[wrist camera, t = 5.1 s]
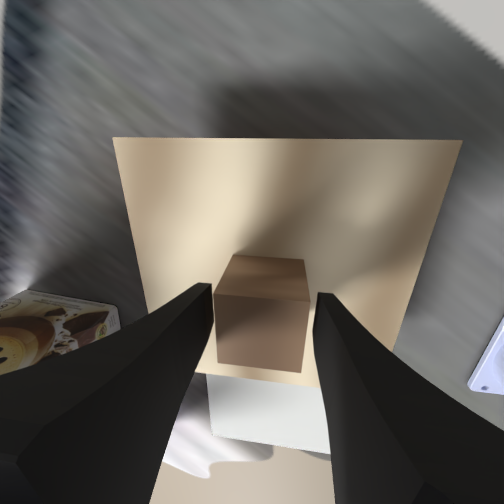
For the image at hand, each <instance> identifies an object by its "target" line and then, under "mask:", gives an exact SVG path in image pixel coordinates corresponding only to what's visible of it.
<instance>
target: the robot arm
mask: <svg viewBox="0 0 504 504" xmlns="http://www.w3.org/2000/svg"><path fill="white" fill-rule="evenodd" d="M213 324H214V310H213V295H212V283H201V282H198V283H196V284H195V285H193V286H191V287H190V288H188V289H187V290H185V291H184V292H182V293H181V294H179V295H178V296H176V297H175V298H173V299H172V300H170V301H169V302H167V303H166V304H164V305H163V306H161V307H159V308H158V309H156V310H154V311H153V312H151V313H149V314H148V315H146V316H144V317H143V318H141V319H139V320H138V321H136V322H134V323H132V324H130V325H128V326H126V327H124V328H122V329H120V330H118V331H116V332H114V333H112V334H110V335H108V336H106V337H103V338H101V339H99V340H96V341H94V342H92V343H89V344H87V345H85V346H82V347H80V348H78V349H75V350H73V351H70V352H67V353H65V354H62V355H59V356H57V357H54V358H51V359H48V360H45V361H42V362H40V363H37V364H34V365H31V366H28V367H25V368H22V369H18V370H15V371H12V372H8V373H5V374H2V375H0V504H149V502H150V499H151V495H152V492H153V489H154V485H155V482H156V479H157V475H158V472H159V469H160V466H161V462H162V459H163V456H164V453H165V450H166V447H167V444H168V441H169V438H170V435H171V432H172V429H173V426H174V423H175V420H176V417H177V414H178V411H179V408H180V405H181V402H182V400H183V397H184V395H185V392H186V390H187V388H188V386H189V383H190V381H191V379H192V377H193V375H194V372H195V370H196V368H197V366H198V363H199V361H200V359H201V357H202V354H203V352H204V350H205V348H206V345H207V343H208V340H209V337H210V334H211V331H212V327H213ZM312 336H313V349H314V357H315V362H316V367H317V372H318V377H319V382H320V387H321V392H322V397H323V402H324V407H325V413H326V419H327V426H328V435H329V444H330V453H331V463H332V473H333V484H334V493H335V504H504V431H503V430H501V429H500V428H498V427H497V426H495V425H493V424H492V423H490V422H489V421H487V420H485V419H484V418H482V417H481V416H479V415H477V414H476V413H474V412H473V411H471V410H470V409H468V408H467V407H465V406H464V405H462V404H461V403H459V402H458V401H456V400H454V399H453V398H452V397H450V396H449V395H447V394H446V393H444V392H443V391H442V390H440V389H439V388H437V387H436V386H435V385H433V384H432V383H430V382H429V381H427V380H426V379H425V378H423V377H422V376H421V375H419V374H418V373H417V372H415V371H414V370H413V369H412V368H410V367H409V366H408V365H407V364H405V363H404V362H403V361H402V360H400V359H399V358H398V357H397V356H395V355H394V354H393V353H392V352H391V351H390V350H388V349H387V348H386V347H385V346H384V345H383V344H382V343H381V342H380V341H378V340H377V339H376V338H375V337H374V336H373V335H372V334H371V333H370V332H369V331H368V330H367V329H366V328H365V327H364V326H363V325H362V324H361V323H360V322H359V321H358V320H357V319H356V318H355V317H354V316H353V315H352V314H351V313H350V311H349V310H348V309H347V308H346V307H345V306H344V305H343V304H342V303H341V301H340V300H339V299H338V298H337V297H336V296H335V295H334V294H333V293H324V292H318V294H317V301H316V308H315V315H314V322H313V328H312ZM467 384H468V386H469V388H470V389H471V390H473V391H478V392H486V393H495V394H503V395H504V317H503V319H502V321H501V323H500V325H499V326H498V328H497V330H496V332H495V334H494V335H493V337H492V339H491V341H490V343H489V345H488V346H487V348H486V350H485V352H484V354H483V355H482V357H481V359H480V361H479V363H478V365H477V366H476V368H475V370H474V372H473V374H472V376H471V377H470V379H469V381H468V383H467Z"/></svg>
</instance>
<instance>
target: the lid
mask: <svg viewBox="0 0 504 504" xmlns="http://www.w3.org/2000/svg"><path fill="white" fill-rule="evenodd" d="M112 138H113V143H114V148H115V152H116V157H117V162H118V167H119V172H120V177H121V182H122V187H123V192H124V196H125V201H126V206H127V211H128V216H129V221H130V226H131V231H132V236H133V241H134V245H135V250H136V255H137V260H138V265H139V270H140V275H141V280H142V285H143V289H144V294H145V299H146V304H147V309H148V314H149V313H151V312H153V311H154V310H156V309H158V308H159V307H161V306H163V305H164V304H166V303H167V302H169V301H170V300H172V299H173V298H175V297H176V296H178V295H179V294H181V293H182V292H184V291H185V290H187V289H188V288H190V287H191V286H193V285H195V284H196V283H198V282H201V283H212V295H213V310H214V324H213V327H212V331H211V334H210V337H209V340H208V343H207V345H206V348H205V350H204V352H203V354H202V357H201V359H200V361H199V363H198V366H197V368H196V370H195V372H199V373H207V374H215V375H223V376H230V377H238V378H246V379H254V380H262V381H269V382H277V383H285V384H293V385H301V386H308V387H316V388H321V387H320V382H319V377H318V372H317V367H316V362H315V357H314V349H313V336H312V328H313V322H314V315H315V308H316V301H317V294H318V292H324V293H333V294H334V295H335V296H336V297H337V298H338V299H339V300H340V301H341V303H342V304H343V305H344V306H345V307H346V308H347V309H348V310H349V311H350V313H351V314H352V315H353V316H354V317H355V318H356V319H357V320H358V321H359V322H360V323H361V324H362V325H363V326H364V327H365V328H366V329H367V330H368V331H369V332H370V333H371V334H372V335H373V336H374V337H375V338H376V339H377V340H378V341H380V342H381V343H382V344H383V345H384V346H385V347H386V348H387V349H388V350H390V351H391V352H392V350H393V347H394V344H395V341H396V338H397V335H398V332H399V329H400V326H401V323H402V321H403V318H404V315H405V312H406V309H407V306H408V303H409V300H410V297H411V294H412V291H413V288H414V285H415V282H416V279H417V276H418V273H419V270H420V267H421V264H422V261H423V258H424V255H425V252H426V249H427V246H428V243H429V240H430V237H431V234H432V231H433V229H434V226H435V223H436V220H437V217H438V214H439V211H440V208H441V205H442V202H443V199H444V196H445V193H446V190H447V187H448V184H449V181H450V178H451V175H452V172H453V169H454V166H455V163H456V160H457V157H458V154H459V151H460V148H461V145H462V142H463V140H395V139H257V138H118V137H112Z"/></svg>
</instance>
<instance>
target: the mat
mask: <svg viewBox="0 0 504 504" xmlns="http://www.w3.org/2000/svg"><path fill="white" fill-rule="evenodd" d="M206 378H207V388H208V399H209V409H210V420H211V430H212V435H214V436H220V437H226V438H233V439H239V440H245V441H252V442H258V443H264V444H270V445H277V446H284V447H289V448H296V449H302V450H308V451H314V452H321V453H327V454H331V453H330V444H329V435H328V426H327V419H326V413H325V407H324V402H323V397H322V392H321V388H316V387H308V386H301V385H293V384H285V383H277V382H269V381H262V380H254V379H246V378H238V377H230V376H223V375H215V374H207V373H206Z"/></svg>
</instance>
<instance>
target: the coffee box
mask: <svg viewBox="0 0 504 504" xmlns="http://www.w3.org/2000/svg"><path fill="white" fill-rule="evenodd" d="M120 329H121V328H120V321H119V315H118V309H117V307H116V306H114V305H109V304H104V303H98V302H92V301H87V300H81V299H76V298H70V297H64V296H59V295H53V294H48V293H43V292H37V291H32V290H24V291H22V292H20V293H18V294H16V295H14V296H13V297H11V298H9V299H7V300H5V301H3V302H1V303H0V375H2V374H5V373H8V372H12V371H15V370H18V369H22V368H25V367H28V366H31V365H34V364H37V363H40V362H42V361H45V360H48V359H51V358H54V357H57V356H59V355H62V354H65V353H67V352H70V351H73V350H75V349H78V348H80V347H82V346H85V345H87V344H89V343H92V342H94V341H96V340H99V339H101V338H103V337H106V336H108V335H110V334H112V333H114V332H116V331H118V330H120Z"/></svg>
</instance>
